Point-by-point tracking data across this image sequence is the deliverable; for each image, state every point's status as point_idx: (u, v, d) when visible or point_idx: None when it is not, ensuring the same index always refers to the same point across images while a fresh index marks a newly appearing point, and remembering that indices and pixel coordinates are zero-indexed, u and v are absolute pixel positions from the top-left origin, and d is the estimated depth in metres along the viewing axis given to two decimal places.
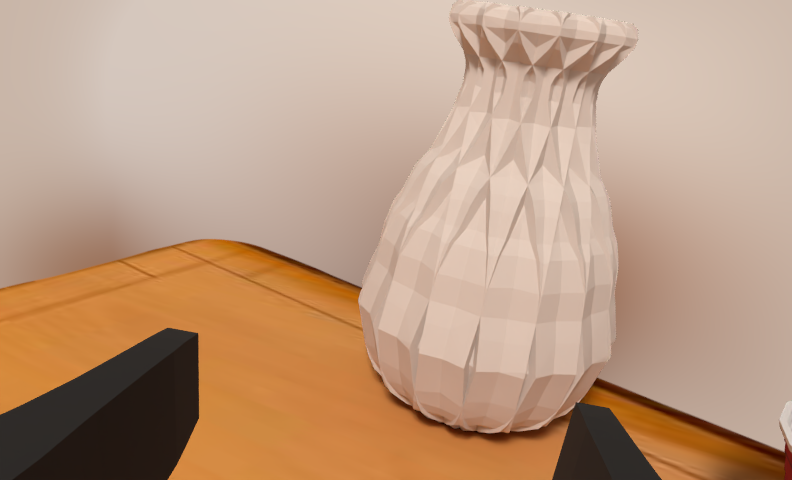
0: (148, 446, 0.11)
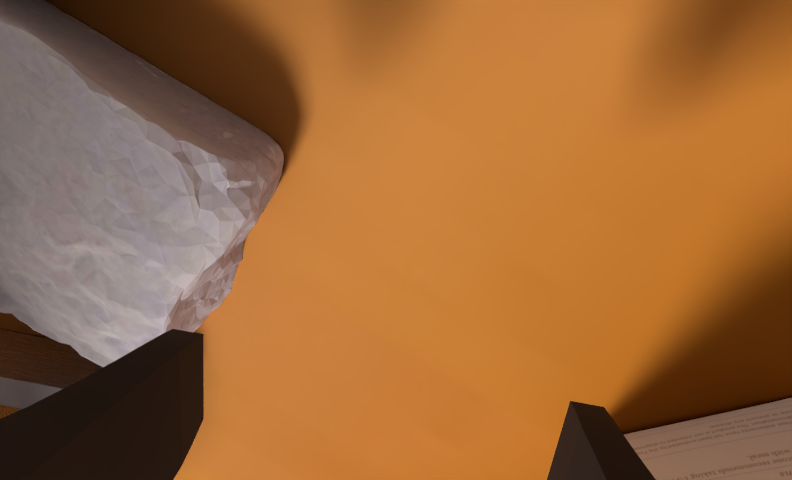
0: (154, 447, 0.11)
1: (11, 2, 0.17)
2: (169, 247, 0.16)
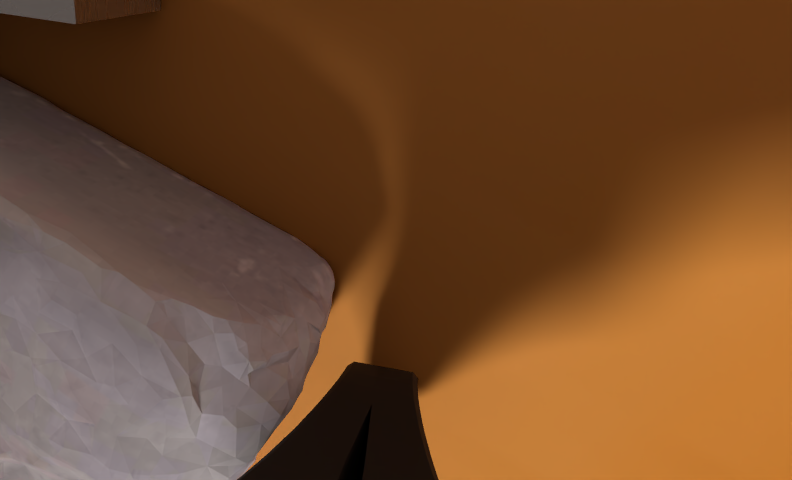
0: None
1: None
2: (149, 477, 0.09)
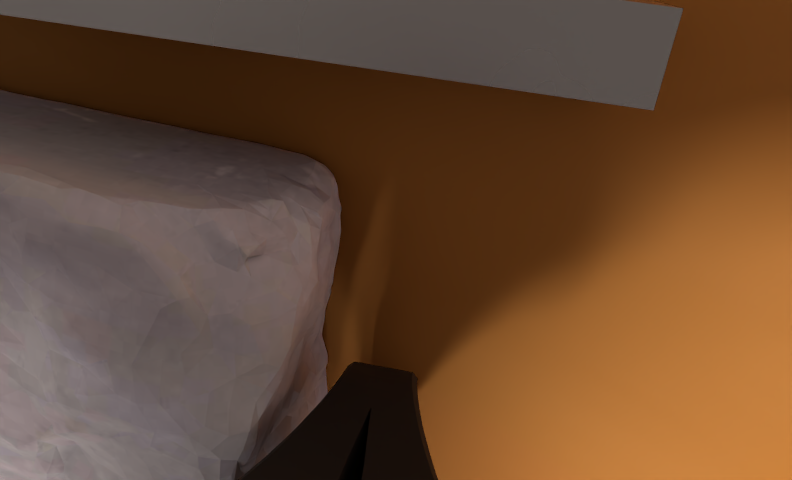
0: None
1: None
2: (180, 403, 0.09)
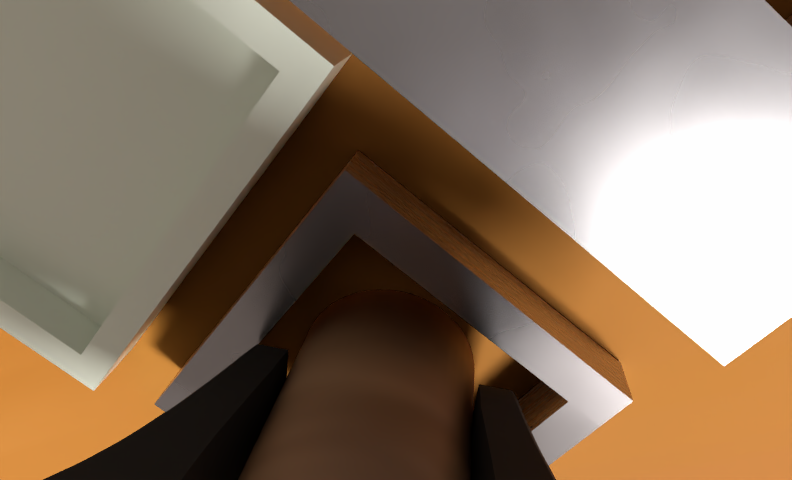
0: None
1: None
2: None
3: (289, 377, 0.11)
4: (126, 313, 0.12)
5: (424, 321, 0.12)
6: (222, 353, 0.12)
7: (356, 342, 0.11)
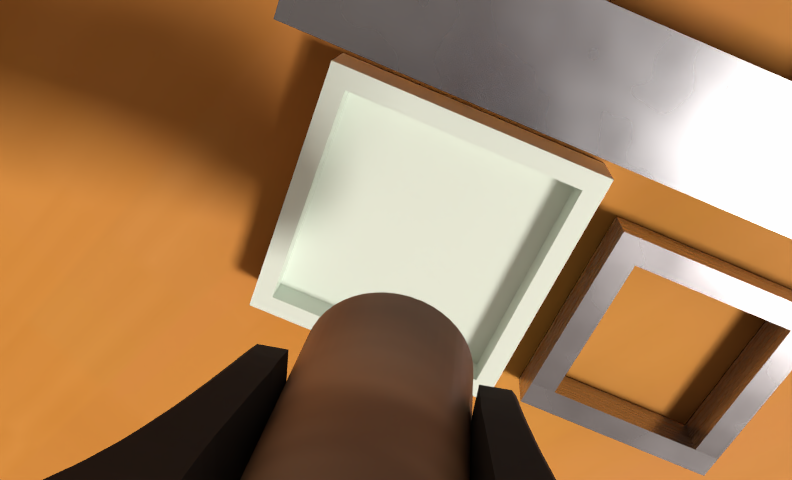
0: None
1: None
2: None
3: (288, 380, 0.11)
4: (503, 347, 0.20)
5: (422, 322, 0.12)
6: (561, 357, 0.20)
7: (354, 345, 0.11)
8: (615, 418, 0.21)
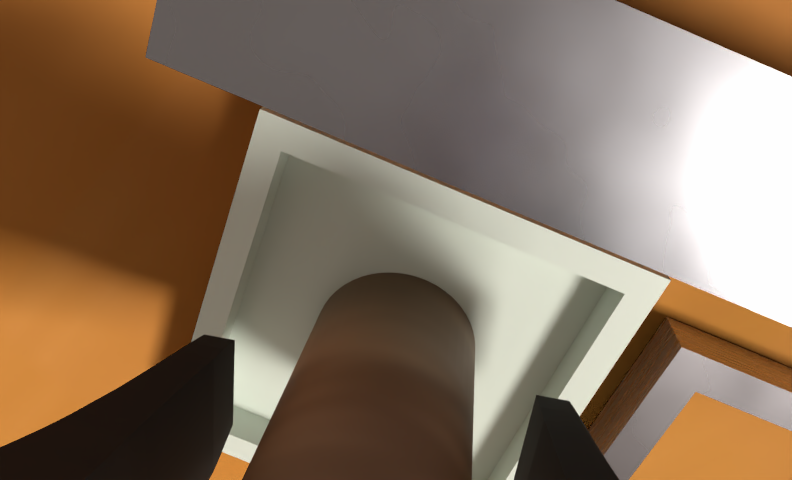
0: (189, 454, 0.11)
1: None
2: None
3: (303, 352, 0.12)
4: None
5: (427, 299, 0.13)
6: None
7: (364, 318, 0.12)
8: None
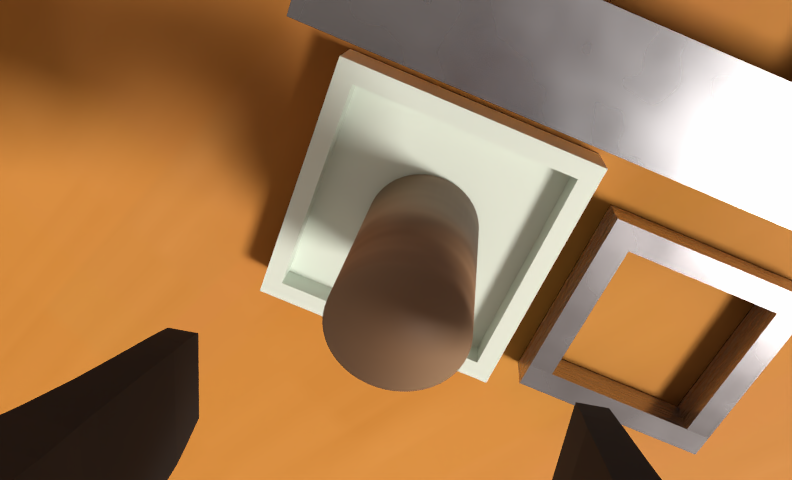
0: (148, 446, 0.11)
1: None
2: None
3: (366, 219, 0.18)
4: (503, 330, 0.21)
5: (448, 190, 0.19)
6: (558, 340, 0.21)
7: (408, 196, 0.18)
8: (610, 398, 0.22)
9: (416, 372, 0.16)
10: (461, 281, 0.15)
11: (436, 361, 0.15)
